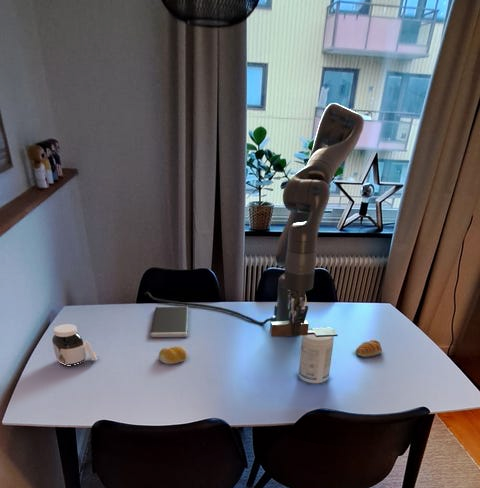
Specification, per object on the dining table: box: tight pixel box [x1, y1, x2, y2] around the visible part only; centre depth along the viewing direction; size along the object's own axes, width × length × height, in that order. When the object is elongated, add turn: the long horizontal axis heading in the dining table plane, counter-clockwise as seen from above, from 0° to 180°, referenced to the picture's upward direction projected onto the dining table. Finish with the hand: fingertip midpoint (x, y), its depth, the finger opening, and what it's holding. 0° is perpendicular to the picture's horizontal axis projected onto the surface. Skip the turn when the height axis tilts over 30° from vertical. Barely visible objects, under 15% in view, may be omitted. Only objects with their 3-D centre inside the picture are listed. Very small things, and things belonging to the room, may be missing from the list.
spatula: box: [269, 319, 339, 338], centre depth 129 cm, size 18×5×3 cm, turn 98°
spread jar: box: [51, 323, 98, 368], centre depth 153 cm, size 12×11×12 cm
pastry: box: [355, 339, 383, 358], centre depth 164 cm, size 9×7×4 cm
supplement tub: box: [298, 327, 335, 384], centre depth 146 cm, size 10×10×15 cm
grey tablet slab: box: [150, 306, 189, 338], centre depth 183 cm, size 13×27×2 cm, turn 4°
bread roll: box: [158, 346, 187, 365], centre depth 158 cm, size 8×9×4 cm
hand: (294, 333), depth 130 cm, fingers closed on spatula, 2 cm apart
